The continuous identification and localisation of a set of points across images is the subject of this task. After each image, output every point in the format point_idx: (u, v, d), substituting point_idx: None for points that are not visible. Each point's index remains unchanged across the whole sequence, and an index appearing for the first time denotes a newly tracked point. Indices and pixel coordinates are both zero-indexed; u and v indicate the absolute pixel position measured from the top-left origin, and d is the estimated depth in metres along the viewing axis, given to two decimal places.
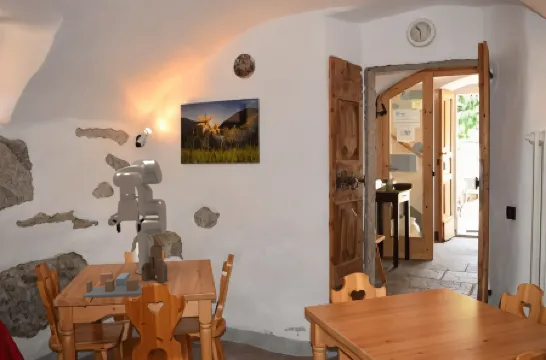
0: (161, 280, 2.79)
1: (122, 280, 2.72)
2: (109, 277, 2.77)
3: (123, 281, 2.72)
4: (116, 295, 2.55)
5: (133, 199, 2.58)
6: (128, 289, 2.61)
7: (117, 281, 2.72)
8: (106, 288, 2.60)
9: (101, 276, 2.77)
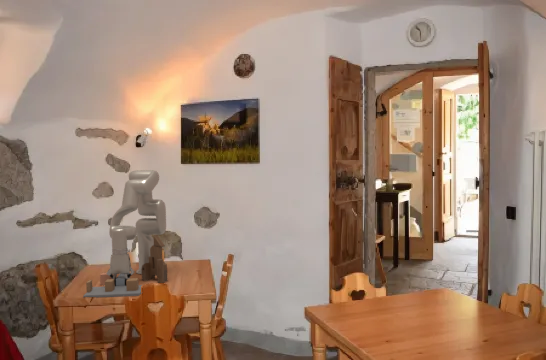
0: (161, 280, 2.79)
1: (122, 280, 2.72)
2: (109, 277, 2.77)
3: (123, 281, 2.72)
4: (116, 295, 2.55)
5: (125, 253, 2.71)
6: (128, 289, 2.61)
7: (117, 281, 2.72)
8: (106, 288, 2.60)
9: (101, 276, 2.77)
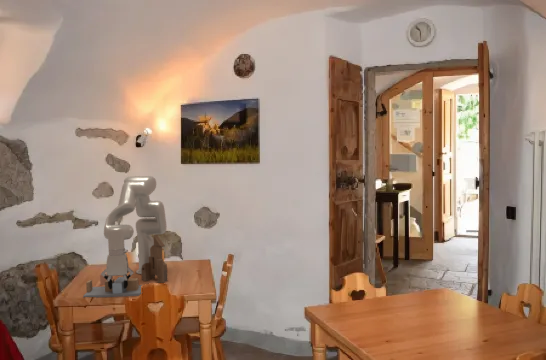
0: (161, 280, 2.79)
1: (119, 285, 2.57)
2: None
3: (120, 286, 2.57)
4: (116, 295, 2.55)
5: (122, 254, 2.56)
6: (128, 289, 2.61)
7: (114, 286, 2.56)
8: (106, 288, 2.60)
9: (101, 276, 2.77)
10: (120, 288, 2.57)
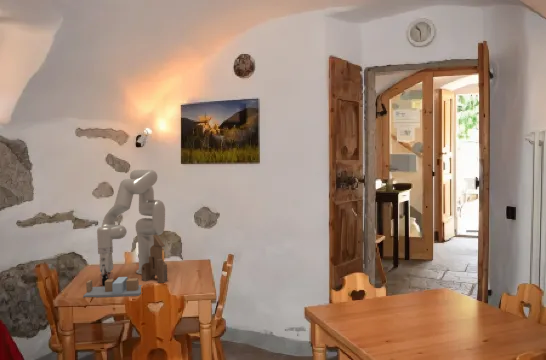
0: (161, 280, 2.79)
1: (119, 285, 2.57)
2: (109, 277, 2.77)
3: (120, 286, 2.57)
4: (116, 295, 2.55)
5: (100, 252, 2.75)
6: (128, 289, 2.61)
7: (114, 286, 2.56)
8: (106, 288, 2.60)
9: (101, 276, 2.77)
10: (120, 288, 2.57)
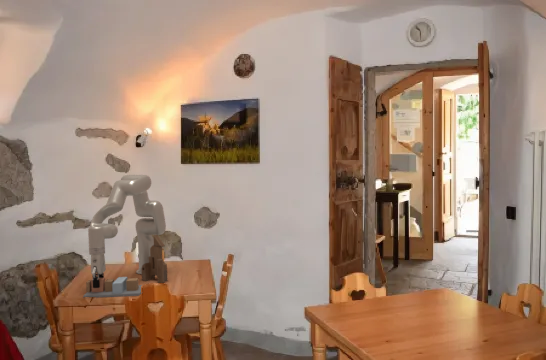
0: (161, 280, 2.79)
1: (119, 285, 2.57)
2: (101, 283, 2.60)
3: (120, 286, 2.57)
4: (116, 295, 2.55)
5: (91, 253, 2.58)
6: (128, 289, 2.61)
7: (114, 286, 2.56)
8: (106, 288, 2.60)
9: (92, 282, 2.60)
10: (120, 288, 2.57)
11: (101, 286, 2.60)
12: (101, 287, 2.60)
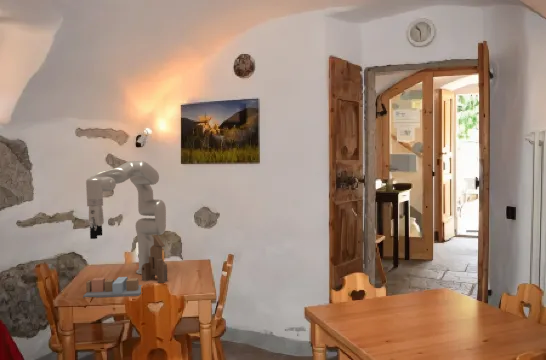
0: (161, 280, 2.79)
1: (119, 285, 2.57)
2: (101, 283, 2.60)
3: (120, 286, 2.57)
4: (116, 295, 2.55)
5: (89, 205, 2.57)
6: (128, 289, 2.61)
7: (114, 286, 2.56)
8: (106, 288, 2.60)
9: (92, 282, 2.60)
10: (120, 288, 2.57)
11: (101, 286, 2.60)
12: (101, 287, 2.60)
